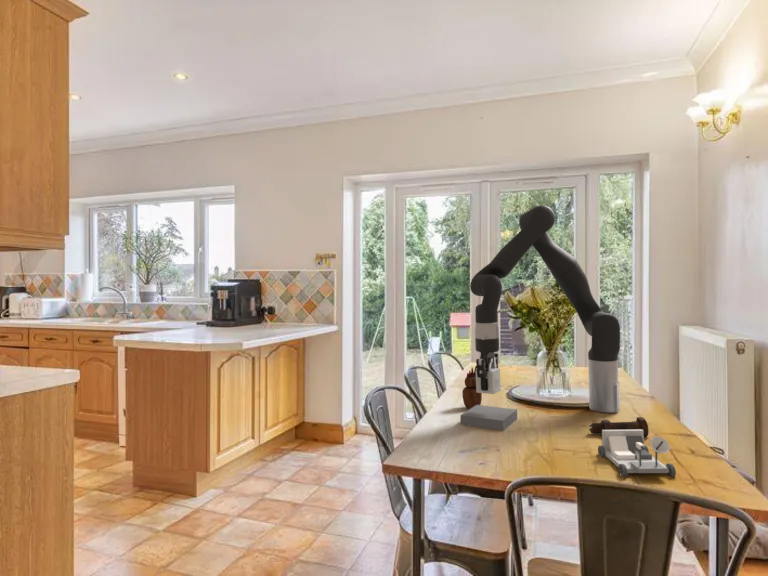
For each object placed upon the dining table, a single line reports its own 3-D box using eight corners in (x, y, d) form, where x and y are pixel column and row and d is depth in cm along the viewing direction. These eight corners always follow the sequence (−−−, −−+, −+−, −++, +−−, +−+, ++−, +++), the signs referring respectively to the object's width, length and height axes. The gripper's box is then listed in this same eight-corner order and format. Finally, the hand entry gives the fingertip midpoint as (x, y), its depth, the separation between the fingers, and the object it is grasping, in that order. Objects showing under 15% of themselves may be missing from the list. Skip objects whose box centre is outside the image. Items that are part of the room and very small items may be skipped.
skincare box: (501, 390, 158) (500, 368, 158) (493, 394, 153) (492, 371, 153) (483, 388, 162) (483, 366, 162) (475, 392, 157) (475, 369, 157)
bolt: (590, 440, 142) (644, 439, 140) (594, 437, 138) (650, 435, 136) (586, 420, 145) (639, 419, 143) (590, 416, 141) (645, 414, 139)
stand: (517, 418, 160) (517, 409, 160) (503, 430, 148) (503, 420, 148) (476, 413, 167) (476, 404, 167) (460, 424, 155) (460, 415, 155)
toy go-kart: (681, 440, 108) (628, 441, 108) (682, 484, 108) (629, 484, 108) (642, 417, 126) (597, 417, 126) (643, 454, 126) (597, 455, 126)
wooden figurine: (481, 405, 177) (480, 364, 177) (482, 410, 171) (481, 367, 171) (462, 405, 177) (461, 364, 177) (463, 410, 172) (462, 367, 171)
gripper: (483, 333, 165) (485, 382, 165) (467, 338, 153) (468, 391, 153) (505, 334, 161) (506, 384, 161) (490, 339, 149) (491, 394, 149)
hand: (488, 387), depth 157 cm, fingers closed on skincare box, 6 cm apart
